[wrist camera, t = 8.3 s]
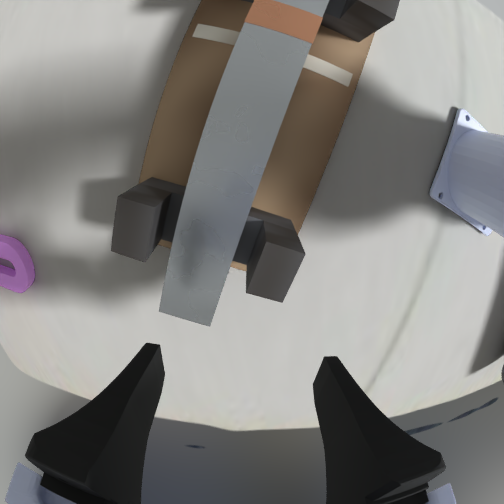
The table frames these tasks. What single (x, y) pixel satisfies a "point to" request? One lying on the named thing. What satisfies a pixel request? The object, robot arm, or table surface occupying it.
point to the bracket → (15, 265)
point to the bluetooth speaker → (503, 373)
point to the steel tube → (236, 151)
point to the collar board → (284, 149)
